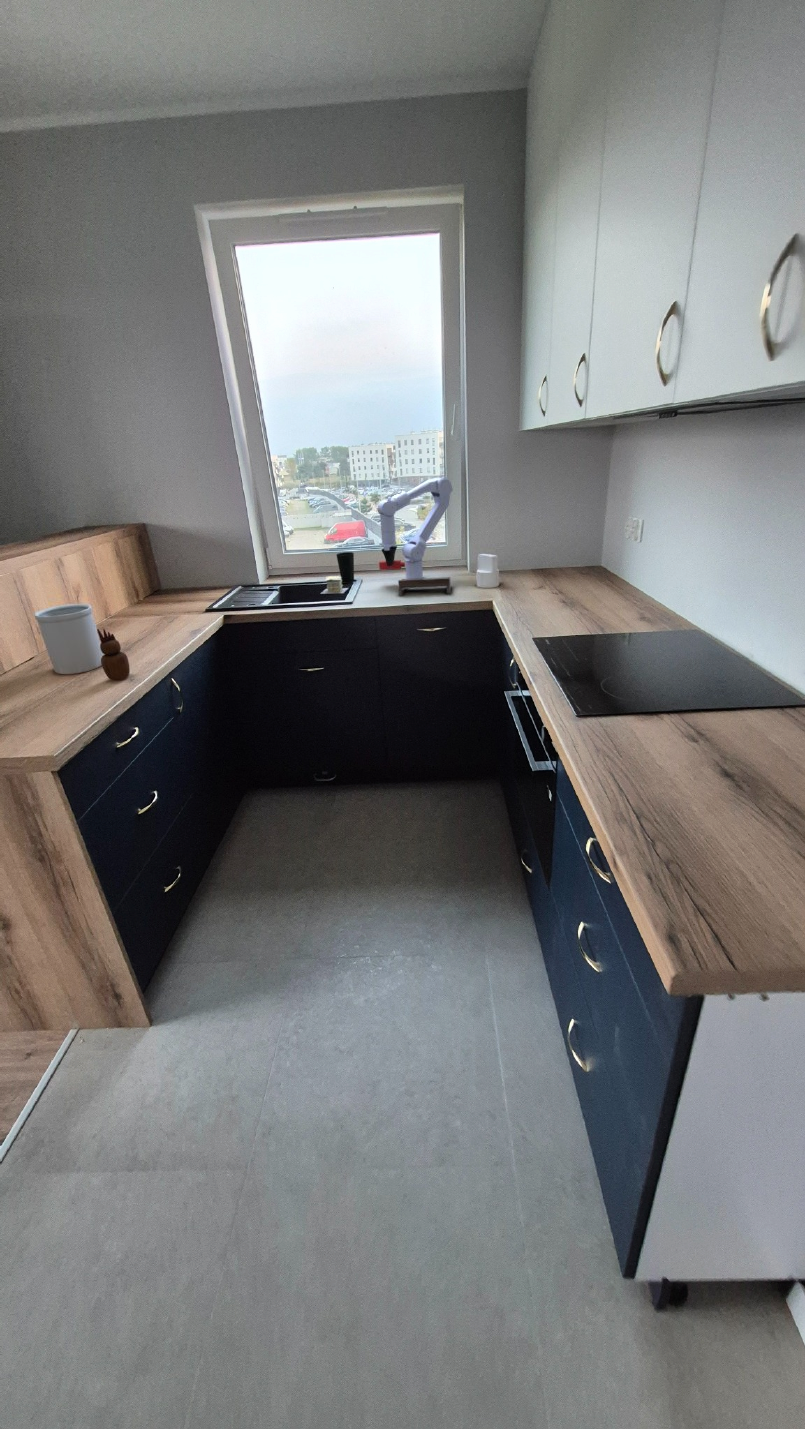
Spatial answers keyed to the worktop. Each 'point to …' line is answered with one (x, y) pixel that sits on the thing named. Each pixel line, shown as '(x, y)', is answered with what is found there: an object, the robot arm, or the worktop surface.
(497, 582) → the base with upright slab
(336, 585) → the stacked layers on plate
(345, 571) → the cup
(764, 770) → the worktop surface
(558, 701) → the worktop surface
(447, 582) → the shelf
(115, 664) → the wooden figurine
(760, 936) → the worktop surface
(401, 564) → the crayon
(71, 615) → the utensil holder
